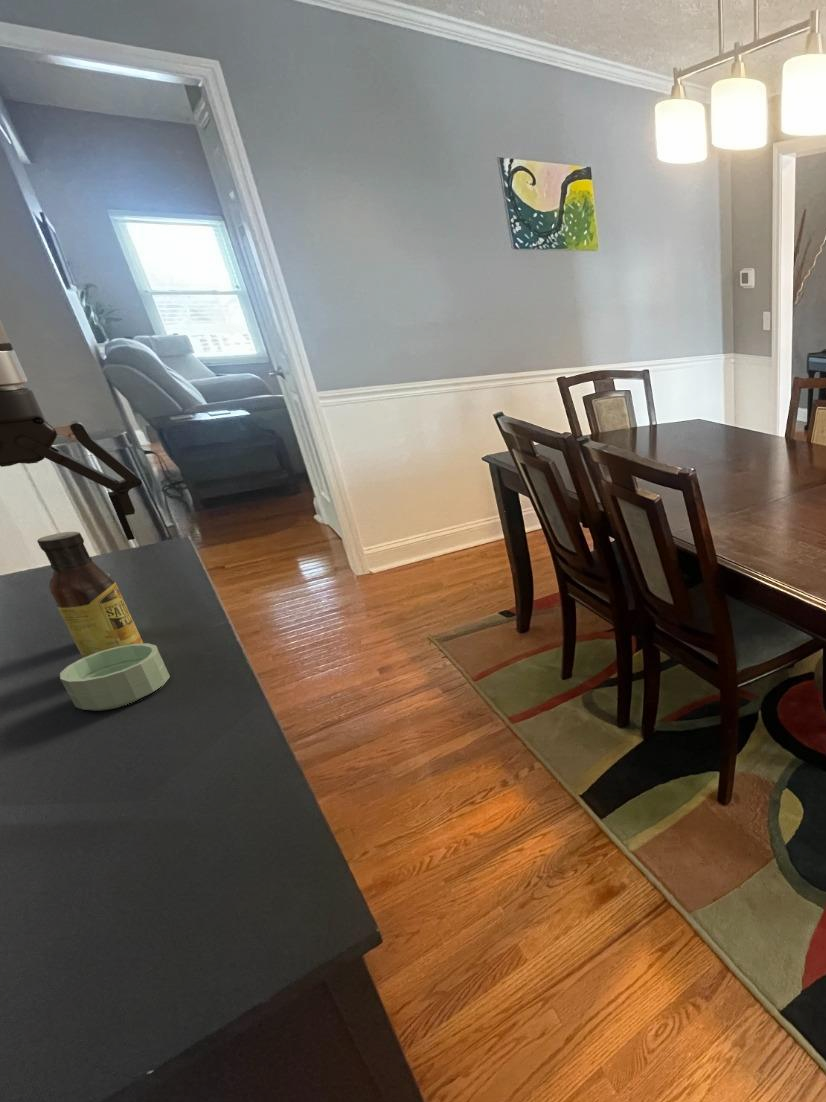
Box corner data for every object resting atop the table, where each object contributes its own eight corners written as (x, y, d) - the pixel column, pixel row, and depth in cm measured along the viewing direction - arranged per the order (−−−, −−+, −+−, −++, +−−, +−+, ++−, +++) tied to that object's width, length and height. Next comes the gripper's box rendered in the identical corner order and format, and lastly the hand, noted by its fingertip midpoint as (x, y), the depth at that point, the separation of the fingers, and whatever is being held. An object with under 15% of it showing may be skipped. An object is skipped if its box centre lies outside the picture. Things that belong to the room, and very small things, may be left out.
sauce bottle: (143, 665, 87) (83, 538, 79) (84, 679, 84) (14, 548, 76) (152, 646, 92) (96, 525, 84) (96, 658, 89) (32, 534, 81)
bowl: (56, 714, 77) (37, 682, 75) (122, 674, 85) (107, 644, 83) (130, 712, 77) (113, 680, 75) (188, 672, 85) (175, 642, 83)
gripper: (-205, 401, 62) (-94, 586, 70) (128, 383, 79) (186, 533, 87) (-188, 395, 66) (-85, 569, 75) (123, 379, 83) (179, 522, 92)
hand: (61, 550), depth 81 cm, fingers open, 13 cm apart
